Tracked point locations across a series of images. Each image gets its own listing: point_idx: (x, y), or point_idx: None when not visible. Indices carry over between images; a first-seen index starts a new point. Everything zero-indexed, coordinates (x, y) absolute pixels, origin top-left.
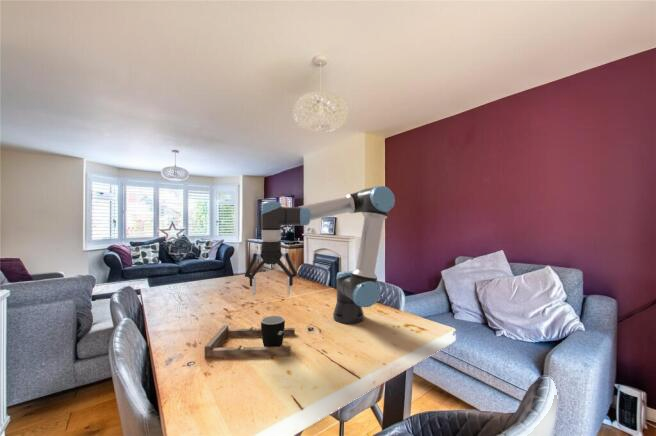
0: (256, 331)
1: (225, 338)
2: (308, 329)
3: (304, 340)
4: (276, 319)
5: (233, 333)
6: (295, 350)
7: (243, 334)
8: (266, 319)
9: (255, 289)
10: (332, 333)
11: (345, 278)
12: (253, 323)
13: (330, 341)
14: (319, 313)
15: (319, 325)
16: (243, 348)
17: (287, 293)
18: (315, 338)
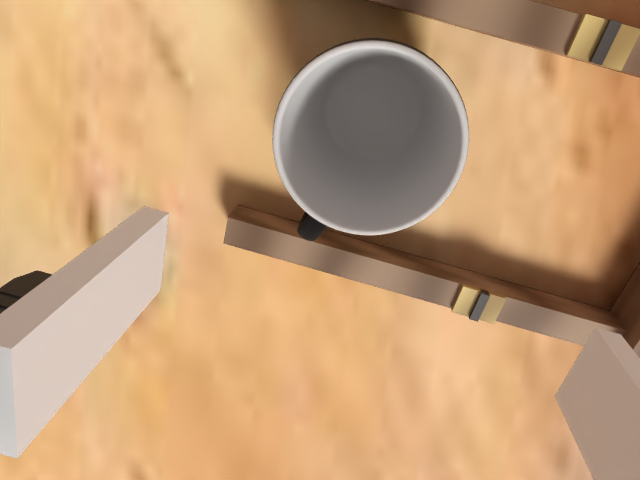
0: (450, 277)
1: (621, 293)
2: None
3: (186, 127)
4: (332, 211)
5: (580, 310)
6: (249, 9)
7: (521, 290)
8: (410, 212)
9: (581, 430)
10: (26, 166)
11: None
12: (439, 422)
13: (41, 66)
14: (84, 424)
15: None
16: (582, 20)
17: (158, 218)
18: (123, 133)
